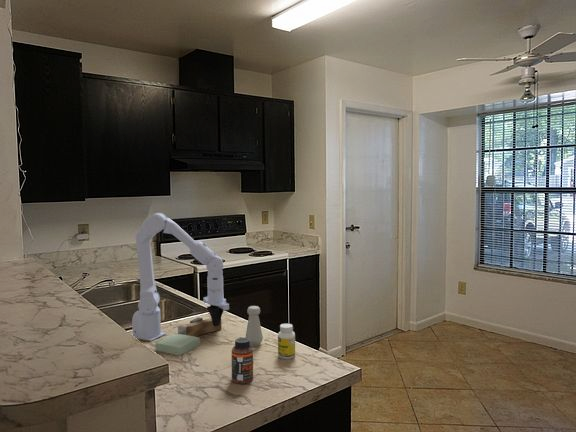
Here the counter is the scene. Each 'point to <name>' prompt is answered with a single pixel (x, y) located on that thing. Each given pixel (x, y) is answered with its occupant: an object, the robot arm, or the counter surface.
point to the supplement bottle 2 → (286, 341)
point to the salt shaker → (254, 327)
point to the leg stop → (196, 320)
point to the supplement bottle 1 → (242, 361)
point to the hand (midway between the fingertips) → (216, 325)
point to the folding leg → (198, 328)
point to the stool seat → (177, 344)
